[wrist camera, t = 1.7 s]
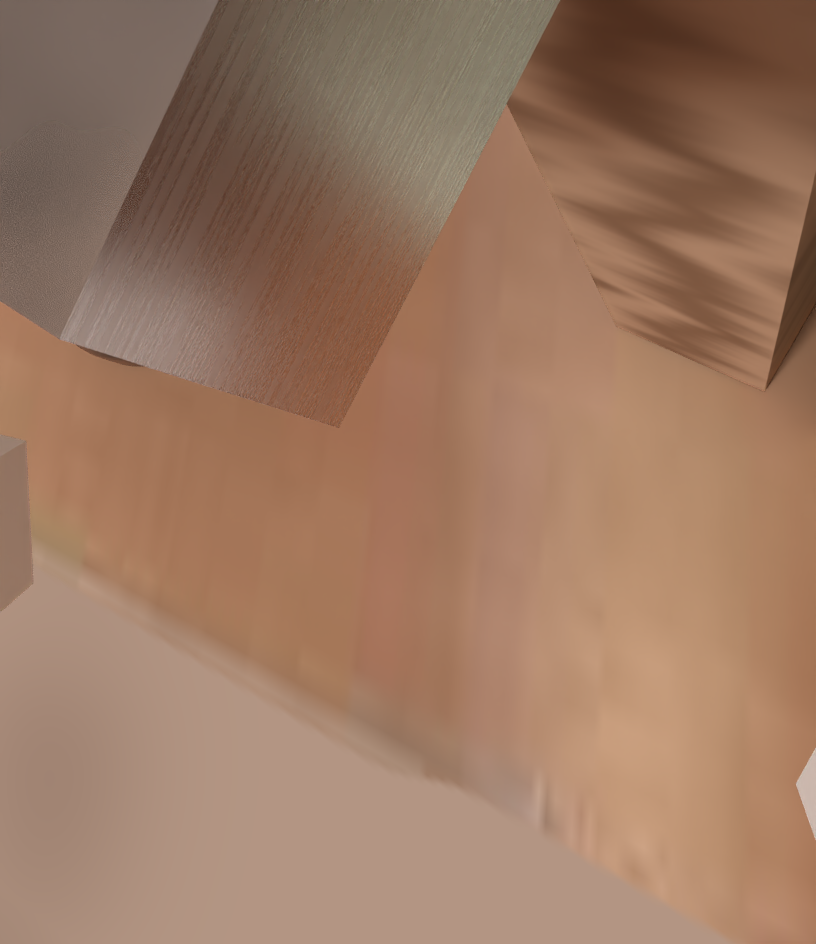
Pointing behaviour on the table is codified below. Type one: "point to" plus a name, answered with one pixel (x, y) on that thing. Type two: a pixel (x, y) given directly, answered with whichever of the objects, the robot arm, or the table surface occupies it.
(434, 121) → the stepped metal block
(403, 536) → the table surface
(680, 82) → the walnut stand
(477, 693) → the table surface
